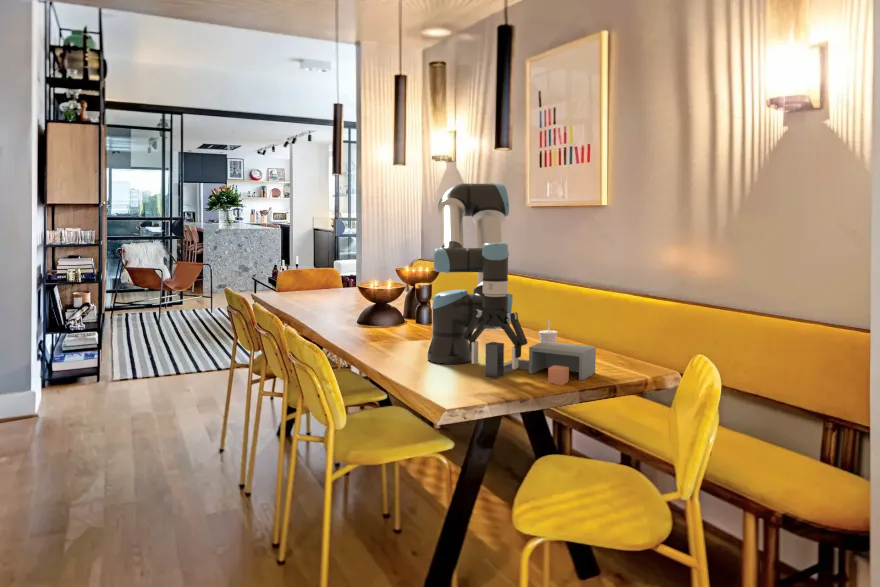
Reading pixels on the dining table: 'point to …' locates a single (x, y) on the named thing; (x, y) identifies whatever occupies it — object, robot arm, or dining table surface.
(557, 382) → the cube
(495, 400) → the dining table surface
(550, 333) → the smoothie
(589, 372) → the cubby
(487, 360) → the grey block with rod
